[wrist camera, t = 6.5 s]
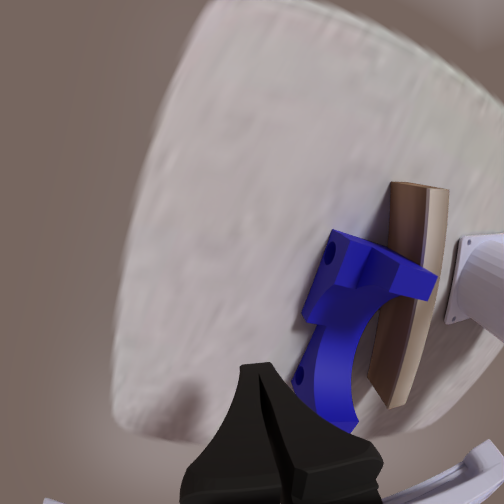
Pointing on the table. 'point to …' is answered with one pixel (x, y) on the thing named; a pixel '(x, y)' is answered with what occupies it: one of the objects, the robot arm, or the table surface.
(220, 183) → the table surface
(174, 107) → the table surface
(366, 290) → the cable clip
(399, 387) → the bar
